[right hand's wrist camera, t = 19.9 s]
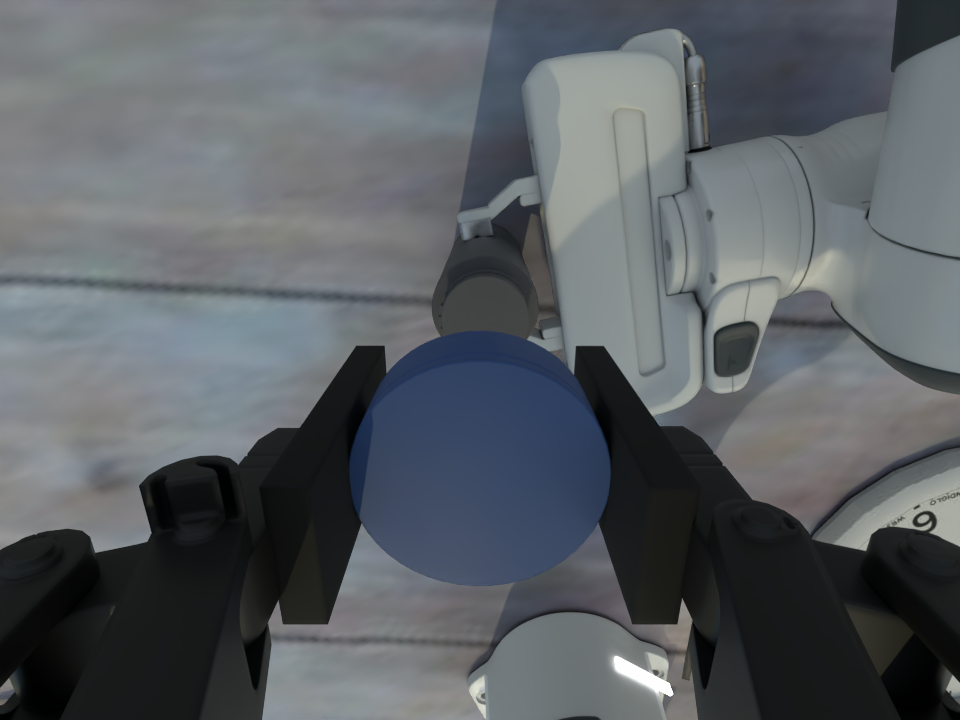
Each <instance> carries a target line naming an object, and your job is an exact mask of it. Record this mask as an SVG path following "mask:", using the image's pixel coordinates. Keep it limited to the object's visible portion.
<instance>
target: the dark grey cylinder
mask: <svg viewBox="0 0 960 720" xmlns="http://www.w3.org/2000/svg"><path fill="white" fill-rule="evenodd" d="M491 225H492V230H493V235H491V236H486V237H479V236H476V237H475V238H474V239H471V240H466V241H462V238H461V235H460V236H459V237H458V239H457V240H456V242H455V244H454V246H453V249H452V251H451V253H450V256H449V258H448V261H447V263H446V265H445V268H444V270H443V272H442V275H441V277H440V279H439V282H438V284H437V286H436V289H435V292H434V295H433V300H432V315H433V320H434V323H435V326H436V329H437V330H438V332H439V334H440V336H441V337H442V336H446V335H449V334H453V333H459V332H466V331H493V332H502V333H506V334H510V335H514V336H518V337H521V338H523V339H526V340H527V339H528V338H529V336H530V335H531V333H532V331H533V330H534V327H535V325H536V322H537V318H538V311H539V306H538V297H537V293H536V290H535V287H534V285H533V282H532V280H531V277H530V275H529V272H528V270H527V267H526V265H525V262H524V260H523V257H522V255H521V252H520V250H519V247H518V245H517V243H516V241H515V239H514V238H513V236H512V235H511V234H510V233H509V232H508V231H506V230H505V229H503V228H501V227H499V226H497V225H493V224H491Z"/></svg>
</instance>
